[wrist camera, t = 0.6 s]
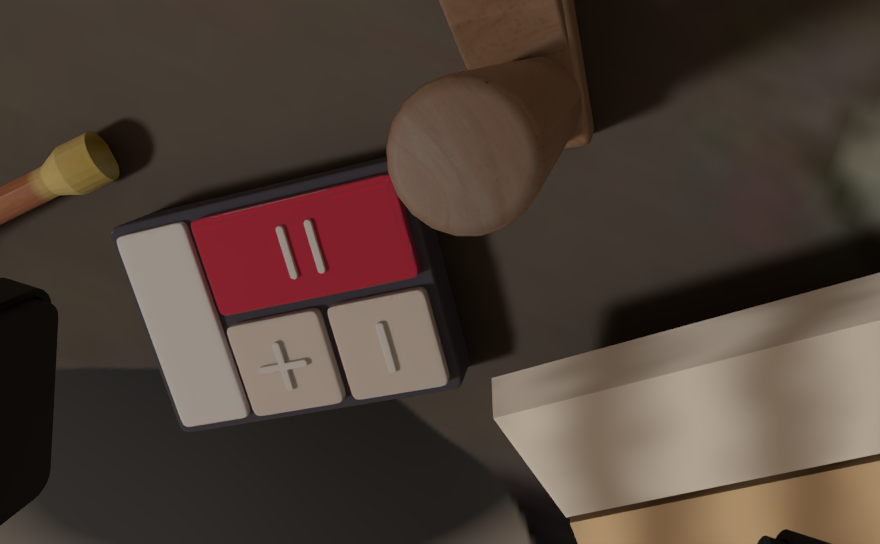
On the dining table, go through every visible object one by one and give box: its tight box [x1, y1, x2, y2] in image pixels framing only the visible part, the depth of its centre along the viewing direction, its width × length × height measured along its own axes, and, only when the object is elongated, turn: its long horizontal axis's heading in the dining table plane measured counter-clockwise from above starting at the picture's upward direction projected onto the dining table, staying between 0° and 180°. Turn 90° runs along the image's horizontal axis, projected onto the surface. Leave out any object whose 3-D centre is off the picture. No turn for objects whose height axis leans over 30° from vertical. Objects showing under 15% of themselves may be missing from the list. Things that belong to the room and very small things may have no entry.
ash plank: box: [492, 273, 880, 517], centre depth 31 cm, size 22×9×2 cm
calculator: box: [111, 156, 470, 432], centre depth 37 cm, size 11×4×15 cm
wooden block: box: [386, 0, 594, 236], centre depth 24 cm, size 4×11×18 cm, turn 12°
